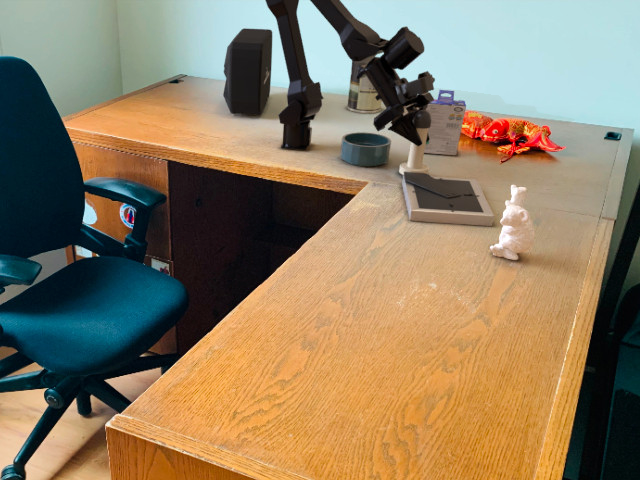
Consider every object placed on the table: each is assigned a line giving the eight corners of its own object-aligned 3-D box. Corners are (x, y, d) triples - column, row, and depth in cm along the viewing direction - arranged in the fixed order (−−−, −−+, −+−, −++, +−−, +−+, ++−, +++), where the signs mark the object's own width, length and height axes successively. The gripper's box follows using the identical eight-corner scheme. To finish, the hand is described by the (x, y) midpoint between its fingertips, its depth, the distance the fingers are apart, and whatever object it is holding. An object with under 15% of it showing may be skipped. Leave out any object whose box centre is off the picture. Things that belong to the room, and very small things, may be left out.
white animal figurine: (482, 243, 123) (497, 180, 116) (520, 246, 122) (537, 183, 115) (491, 264, 116) (508, 198, 109) (531, 267, 115) (550, 201, 108)
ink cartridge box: (455, 149, 170) (467, 90, 162) (457, 156, 165) (469, 95, 157) (416, 146, 171) (426, 87, 163) (416, 153, 167) (426, 93, 159)
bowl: (337, 165, 158) (339, 144, 155) (343, 150, 167) (345, 130, 165) (386, 170, 156) (389, 148, 153) (389, 155, 165) (392, 134, 162)
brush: (398, 175, 151) (408, 112, 143) (399, 166, 156) (409, 105, 148) (427, 178, 150) (438, 115, 142) (427, 169, 155) (439, 107, 147)
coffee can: (340, 109, 201) (345, 59, 193) (356, 103, 208) (362, 54, 200) (371, 115, 196) (378, 64, 188) (386, 108, 203) (393, 59, 195)
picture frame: (401, 183, 148) (409, 220, 131) (403, 171, 146) (412, 207, 129) (474, 188, 147) (491, 226, 129) (476, 175, 145) (495, 212, 128)
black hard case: (260, 120, 189) (262, 44, 178) (217, 117, 190) (217, 42, 179) (270, 95, 214) (273, 27, 203) (233, 93, 215) (233, 25, 204)
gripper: (394, 66, 135) (435, 131, 136) (433, 53, 148) (470, 113, 148) (356, 99, 144) (394, 160, 144) (396, 85, 156) (431, 141, 157)
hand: (424, 143), depth 148 cm, fingers closed on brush, 3 cm apart
